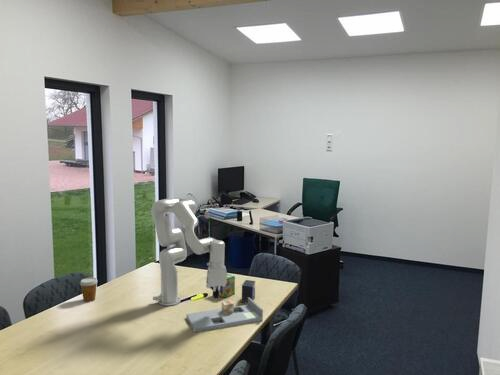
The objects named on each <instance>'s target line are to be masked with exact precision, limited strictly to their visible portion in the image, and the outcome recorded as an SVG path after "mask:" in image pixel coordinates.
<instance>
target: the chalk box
mask: <svg viewBox="0 0 500 375" xmlns="http://www.w3.org/2000/svg"><path fill="white" fill-rule="evenodd" d="M226 275H227V283H226V286H224V287H222V288H221V289H220V291H219V296H218V297H222V298H228V297H230V296H233V295H235V290H236V289H235V288H236V282H235V280H236V277H235V275H232V274H229V273H228V271H227V270H226ZM216 287H217V286H216ZM216 287H215V288H216Z"/></svg>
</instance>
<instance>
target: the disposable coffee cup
mask: <svg viewBox="0 0 500 375" xmlns="http://www.w3.org/2000/svg"><path fill="white" fill-rule="evenodd" d="M98 281H99V280H98V279H97V278H96V277H86V278H82V279H81V280H80V282H79V284H80V287H81V292H82V297H83V302H85V301H86V302H85V303H90V301H91V302H94V301H95V300H96V295H97V287H98V286H97V284H98Z"/></svg>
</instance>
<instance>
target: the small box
mask: <svg viewBox="0 0 500 375" xmlns="http://www.w3.org/2000/svg"><path fill="white" fill-rule="evenodd" d="M248 298H251V299H252V300H253V301H254V300H255V298H256V280H251V279H250V280H249V279H245V280H244V282H243V283H242V285H241V303H242V304H243V303H244V304H248Z"/></svg>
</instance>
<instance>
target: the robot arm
mask: <svg viewBox="0 0 500 375" xmlns="http://www.w3.org/2000/svg"><path fill="white" fill-rule="evenodd" d="M197 207H198V206H197V204H196V203H195V202H194V201H193V200H192V199H189V198H188V199H186V198H180V197H173V198H164V199H160V200H156V201H155V202H154V203H153V204H152V206H151V210H150V213H151V216H152V217H151V218H152V219H153V222H154V225H155V231H156V236H157V242H158V244H159V245H160V246H161V247H168V246H172V247H168V248H164V249H163V250H161V251H160V252H159V254H158V262H159V267H160V293H159V295H156V296H152V301H155V302H158V304H159V305H160V306H167V307H169V306H175V305H178V304H180V302H181V298H180V297H179V294H178V293H179V292H178V291H179V290H178V286H179V284H178V283H179V282H178V281H179V280H178V279H179V277H178V270H177V267H176V265H175V264H178V263H181V262H183V261H184V260H186V259H187V257H188V252H187V250H188V249H187V245H188V246H189V248H190V250H191V251H192V252H193V253H194V254H196V255H199V256H200V255H203V254H206V253H209V262H206V265H207V272H206V279H205V280H206V282H205V283H206V285H205V287H206V288H207V289H210V290H212V297H213V298H214V299H219V297H220V296H219V291H220V289H221V288H222V287H224V286H226V283H227V275H226V271H227V268H226V266H225V249H226V248H225V247H226V244H225V242H224V241H223V240H218V239H216V238H214V237H211V236H210V237H206V238H201V239H199V238H198V237H197V235H196V233H195V228H196V227H197V226H198V224H199V219H198V218H197V217H196V215H195V213H196V212H197ZM173 213H174V215H175V217H176V218H177V219H178V221H179V223H180V224H181V225H182V227H183V228H184V230H185V231H184V232H183V231H182V230H181V229H180V228H179V227H172V225H171V221H170V220H169V217H168V216H167V215H169V214H173ZM186 243H187V245H186ZM216 286H217V287H216ZM215 287H216V288H215Z"/></svg>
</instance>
